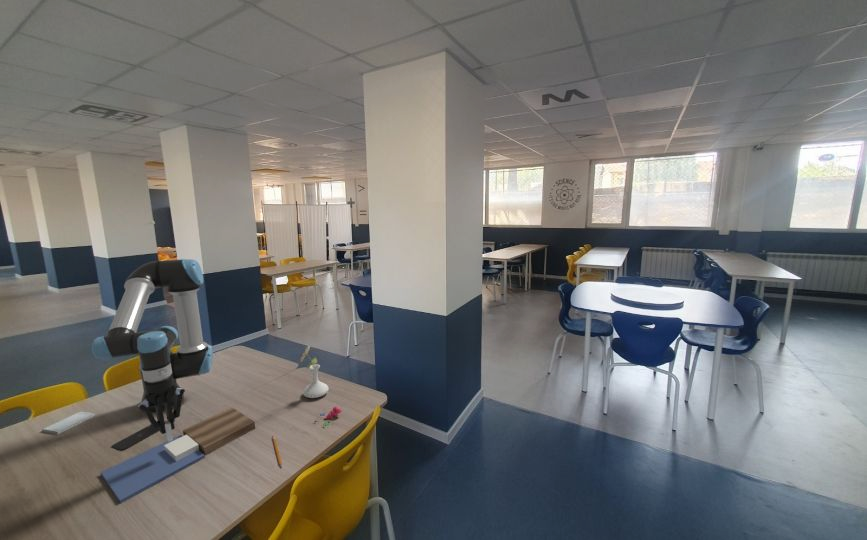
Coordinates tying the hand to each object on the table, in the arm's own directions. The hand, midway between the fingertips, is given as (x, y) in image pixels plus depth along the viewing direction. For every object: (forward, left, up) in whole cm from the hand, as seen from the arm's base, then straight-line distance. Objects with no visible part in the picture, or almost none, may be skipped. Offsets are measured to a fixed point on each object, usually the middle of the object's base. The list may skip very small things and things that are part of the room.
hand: (169, 439), depth 118 cm
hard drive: (-59, -16, -8) cm, 61 cm away
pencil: (+29, +22, -7) cm, 37 cm away
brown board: (0, +16, -7) cm, 17 cm away
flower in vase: (+8, +54, -7) cm, 55 cm away
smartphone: (-24, -2, -7) cm, 25 cm away
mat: (0, -5, -7) cm, 8 cm away
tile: (+1, +3, -6) cm, 7 cm away
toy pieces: (+28, +44, -7) cm, 53 cm away
